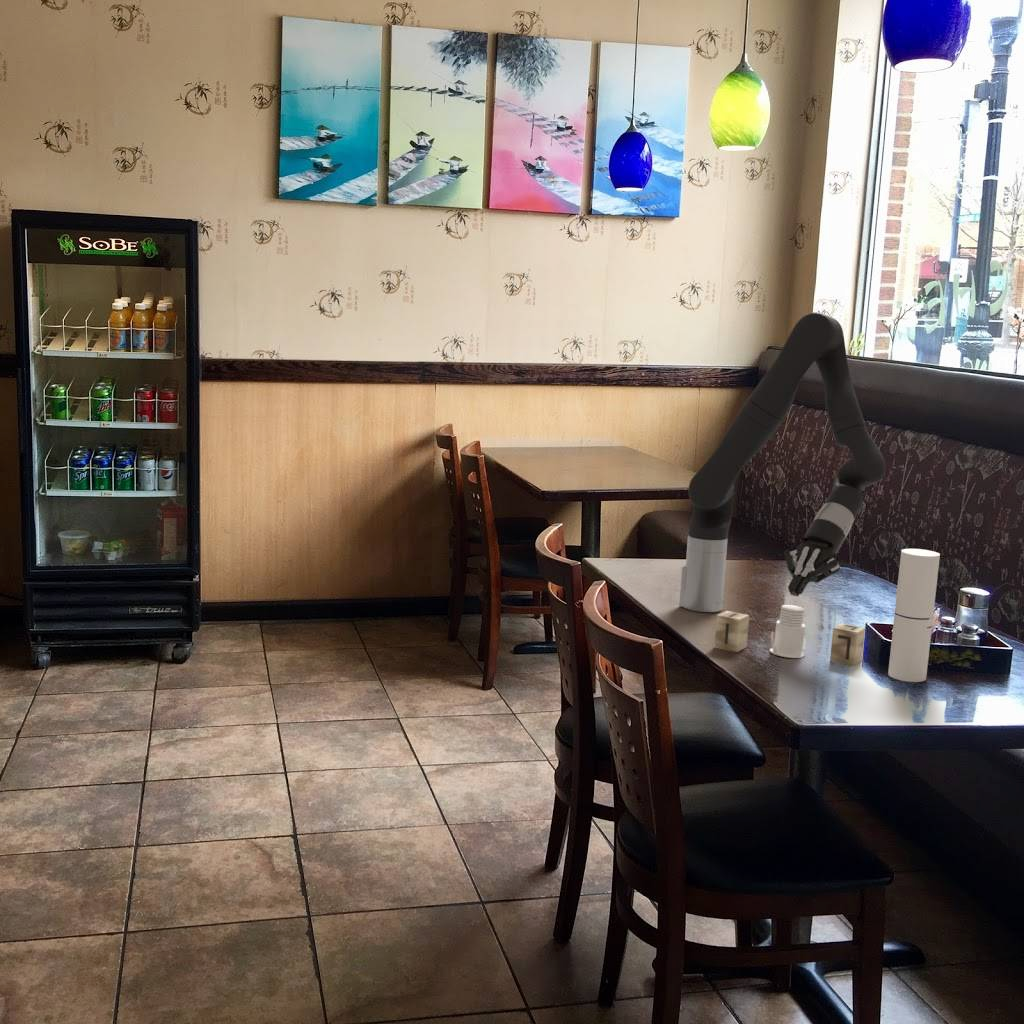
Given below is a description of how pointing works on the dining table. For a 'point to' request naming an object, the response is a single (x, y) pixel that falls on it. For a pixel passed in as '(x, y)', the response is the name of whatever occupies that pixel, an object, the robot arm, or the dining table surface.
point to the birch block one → (731, 631)
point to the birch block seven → (847, 644)
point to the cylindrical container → (913, 614)
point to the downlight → (789, 633)
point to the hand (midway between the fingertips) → (793, 593)
